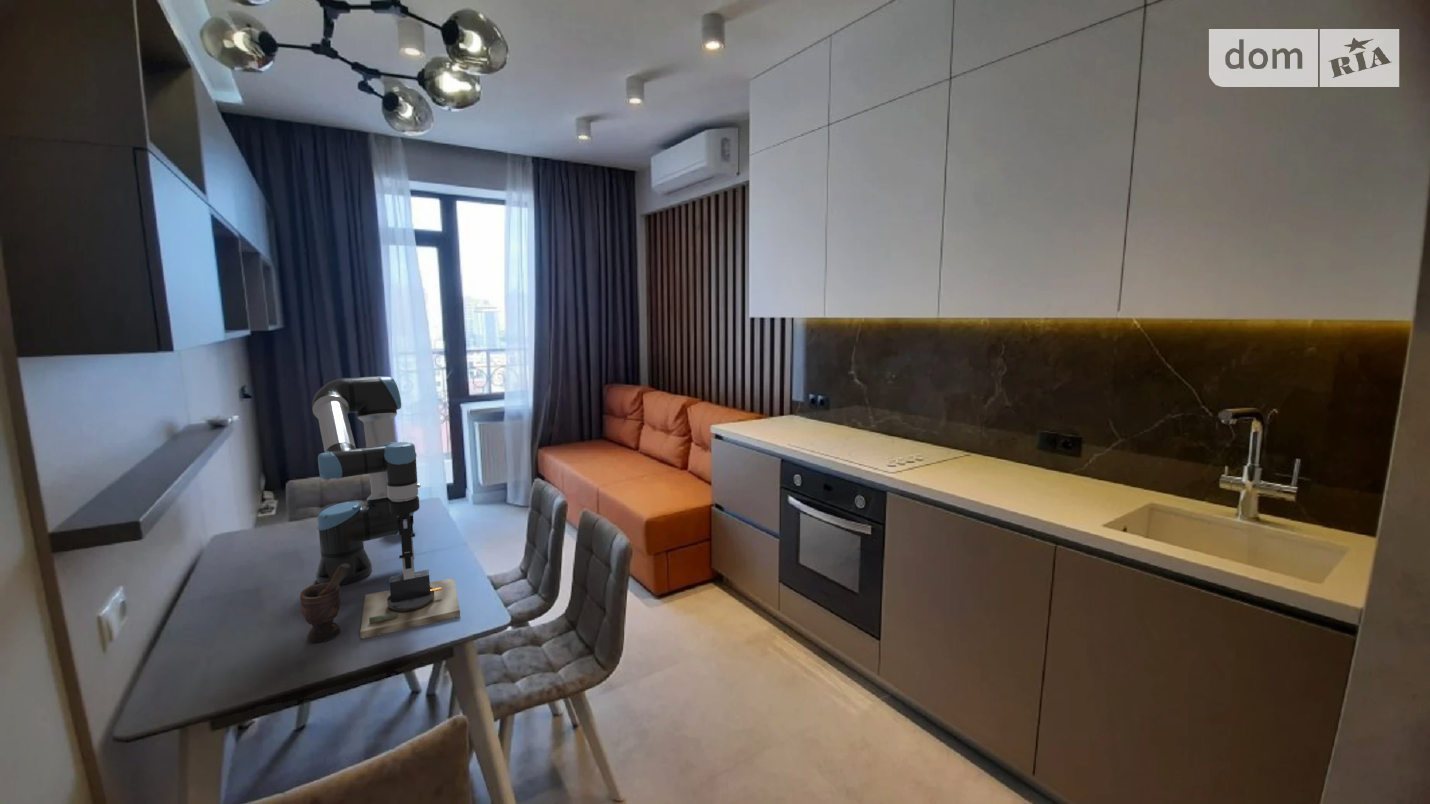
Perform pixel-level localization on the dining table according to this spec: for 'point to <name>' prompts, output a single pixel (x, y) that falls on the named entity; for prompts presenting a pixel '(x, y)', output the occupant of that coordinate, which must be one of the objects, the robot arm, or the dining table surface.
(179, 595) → the dining table surface
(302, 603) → the mortar and pestle
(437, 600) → the base plate
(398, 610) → the dial knob
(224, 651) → the dining table surface
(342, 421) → the robot arm
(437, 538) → the dining table surface
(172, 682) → the dining table surface
